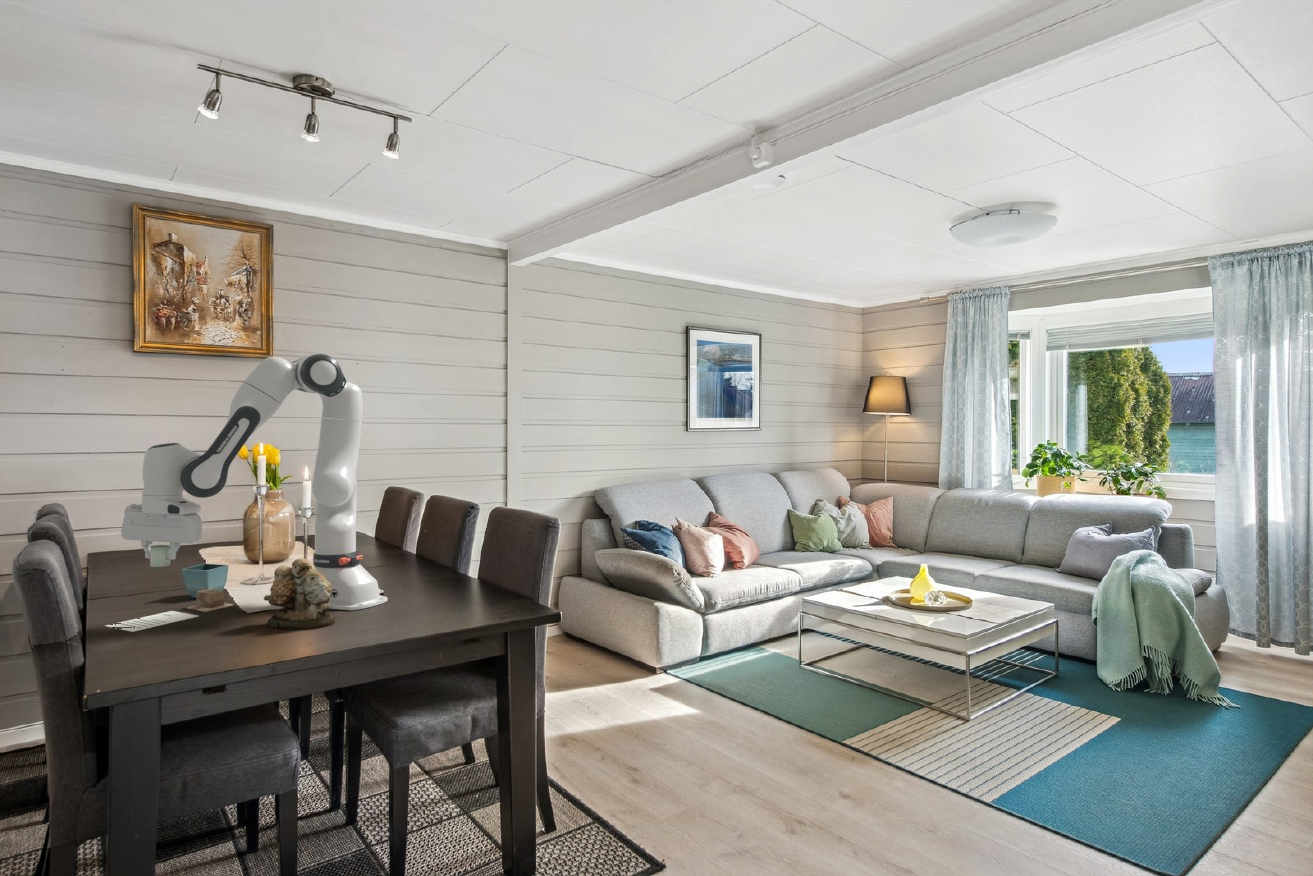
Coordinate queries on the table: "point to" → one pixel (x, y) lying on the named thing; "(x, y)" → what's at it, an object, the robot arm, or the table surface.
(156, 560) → the jar
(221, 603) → the walnut block
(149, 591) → the table surface
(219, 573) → the flower pot
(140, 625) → the letter
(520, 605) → the table surface
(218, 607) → the coaster
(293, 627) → the owl figurine
